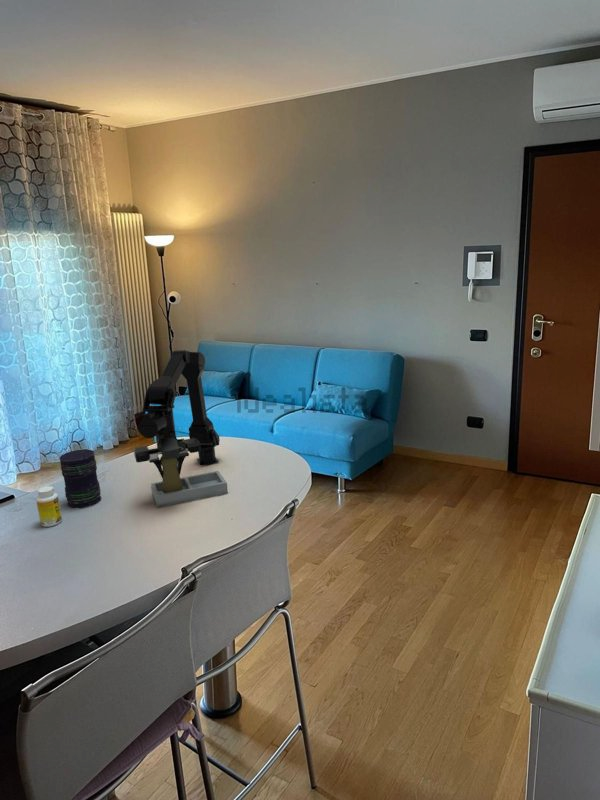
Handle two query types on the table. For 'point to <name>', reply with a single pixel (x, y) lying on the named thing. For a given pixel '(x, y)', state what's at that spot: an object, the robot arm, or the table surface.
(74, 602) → the table surface
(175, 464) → the olive rounded piece
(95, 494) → the storage jar
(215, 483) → the caddy
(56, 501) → the supplement bottle
